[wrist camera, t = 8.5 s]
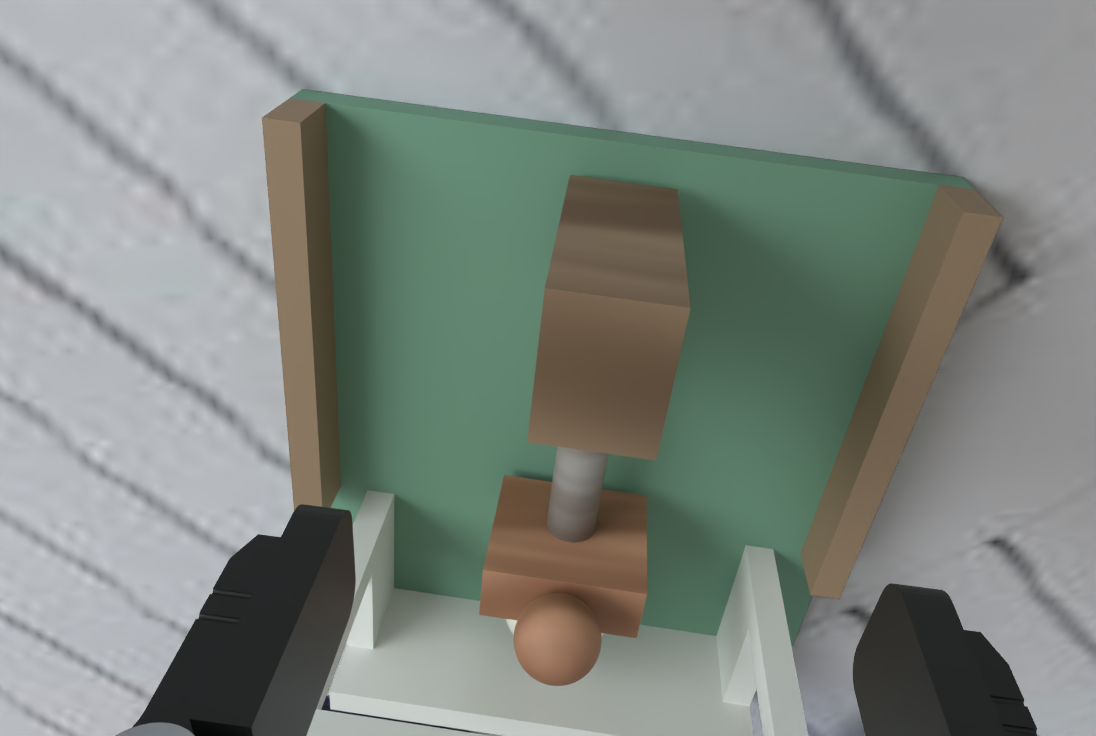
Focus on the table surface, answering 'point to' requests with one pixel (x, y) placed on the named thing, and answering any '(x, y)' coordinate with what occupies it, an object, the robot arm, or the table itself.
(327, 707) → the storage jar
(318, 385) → the pitch
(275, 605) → the robot arm
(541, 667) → the kicker
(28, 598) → the table surface
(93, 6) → the table surface
